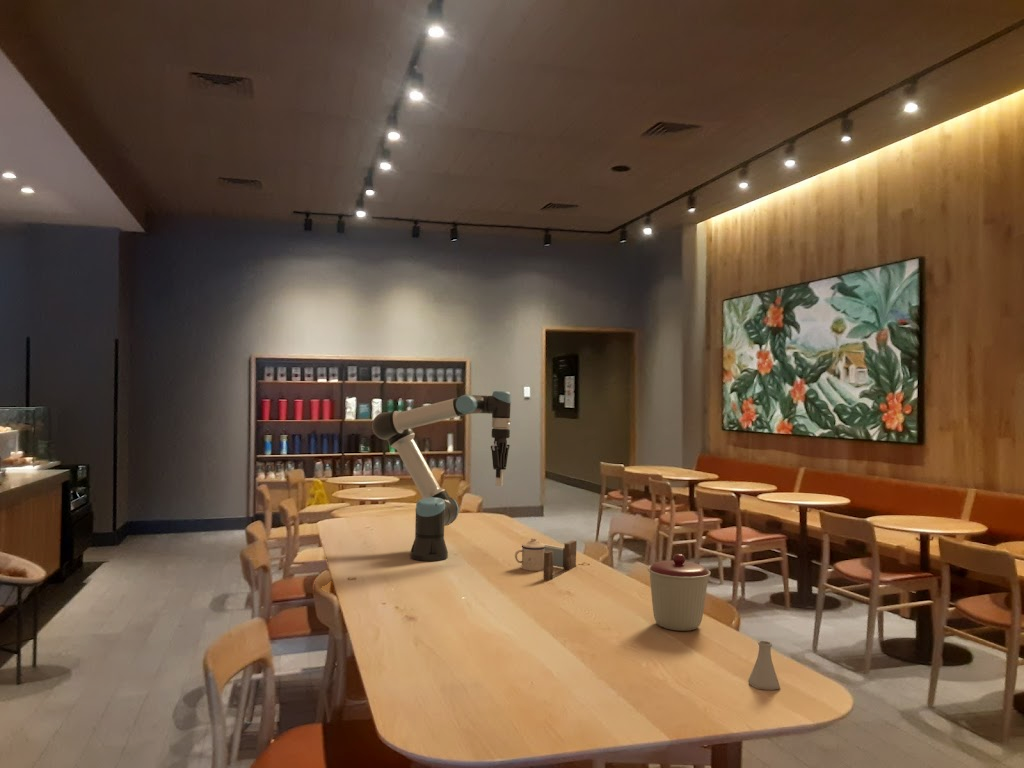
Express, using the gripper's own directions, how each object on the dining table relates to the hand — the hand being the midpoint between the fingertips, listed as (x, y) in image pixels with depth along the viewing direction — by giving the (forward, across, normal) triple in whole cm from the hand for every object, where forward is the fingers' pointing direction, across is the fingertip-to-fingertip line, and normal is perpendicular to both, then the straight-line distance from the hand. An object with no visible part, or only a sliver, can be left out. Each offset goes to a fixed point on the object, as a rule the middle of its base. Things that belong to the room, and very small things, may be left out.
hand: (499, 485), depth 315 cm
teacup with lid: (+29, -14, -21) cm, 39 cm away
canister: (+29, -57, -90) cm, 110 cm away
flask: (+30, -93, -119) cm, 154 cm away
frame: (+29, -14, -34) cm, 47 cm away
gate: (+29, -5, -26) cm, 39 cm away
